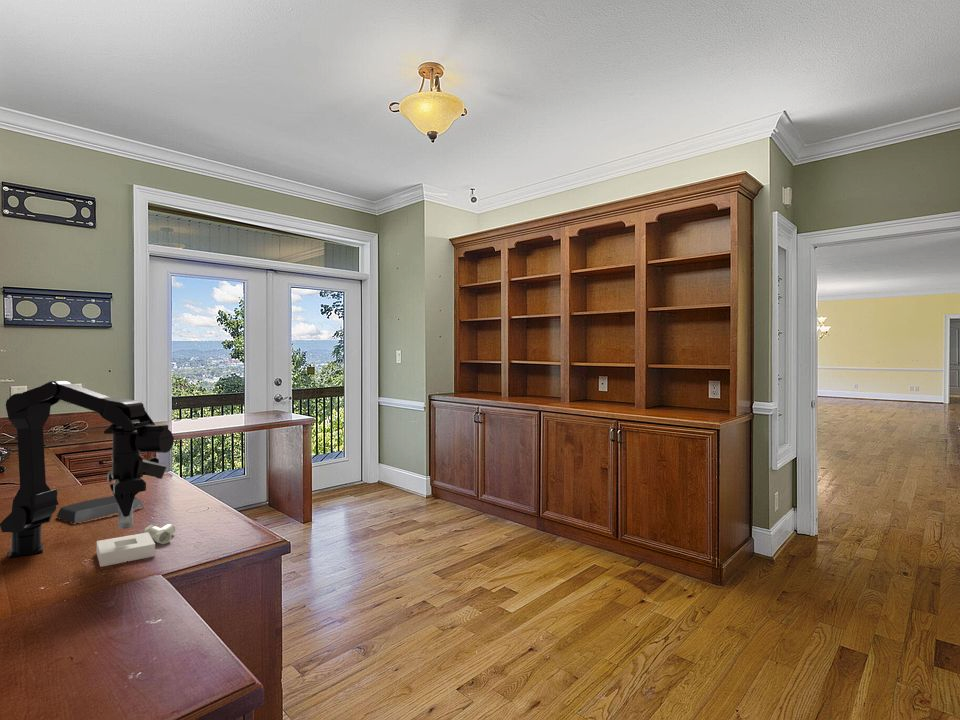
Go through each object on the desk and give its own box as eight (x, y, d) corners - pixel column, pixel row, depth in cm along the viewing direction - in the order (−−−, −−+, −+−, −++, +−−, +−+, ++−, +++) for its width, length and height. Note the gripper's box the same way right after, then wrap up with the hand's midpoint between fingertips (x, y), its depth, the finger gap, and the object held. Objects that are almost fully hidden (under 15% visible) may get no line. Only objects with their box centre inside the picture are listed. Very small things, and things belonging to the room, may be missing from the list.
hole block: (96, 553, 132) (96, 541, 132) (148, 543, 139) (148, 532, 139) (100, 566, 123) (100, 554, 123) (155, 556, 130) (155, 543, 130)
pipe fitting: (169, 535, 148) (143, 539, 142) (170, 521, 148) (144, 525, 142) (183, 541, 143) (157, 546, 138) (185, 526, 143) (158, 531, 138)
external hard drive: (145, 510, 170) (145, 497, 170) (75, 526, 153) (75, 512, 153) (124, 504, 177) (124, 492, 177) (54, 519, 160) (54, 505, 160)
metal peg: (117, 526, 131) (118, 486, 131) (131, 524, 133) (132, 484, 133) (118, 529, 129) (119, 488, 129) (133, 527, 131) (134, 487, 131)
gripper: (170, 454, 129) (169, 518, 129) (157, 443, 143) (157, 501, 143) (115, 459, 122) (114, 526, 122) (107, 447, 136) (106, 508, 136)
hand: (125, 514), depth 131 cm, fingers closed on metal peg, 3 cm apart
